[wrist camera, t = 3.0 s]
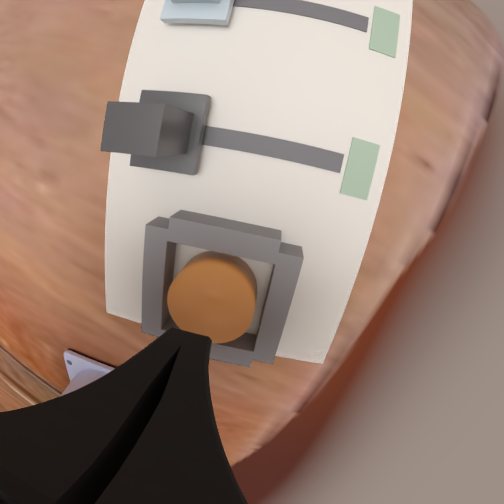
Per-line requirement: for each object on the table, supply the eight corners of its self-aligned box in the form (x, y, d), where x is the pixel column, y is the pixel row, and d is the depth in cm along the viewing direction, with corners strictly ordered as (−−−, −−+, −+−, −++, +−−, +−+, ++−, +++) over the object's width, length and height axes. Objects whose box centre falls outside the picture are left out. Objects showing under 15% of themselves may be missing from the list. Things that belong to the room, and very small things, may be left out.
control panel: (320, 346, 16) (325, 381, 14) (118, 299, 17) (94, 325, 14) (402, 0, 10) (423, -23, 7) (173, -36, 10) (154, -61, 7)
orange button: (249, 328, 14) (245, 351, 13) (177, 311, 14) (165, 331, 13) (265, 260, 13) (262, 277, 11) (184, 242, 13) (170, 257, 11)
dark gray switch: (197, 174, 12) (164, 186, 8) (136, 164, 12) (88, 174, 9) (211, 97, 11) (183, 79, 7) (147, 91, 11) (102, 77, 7)
